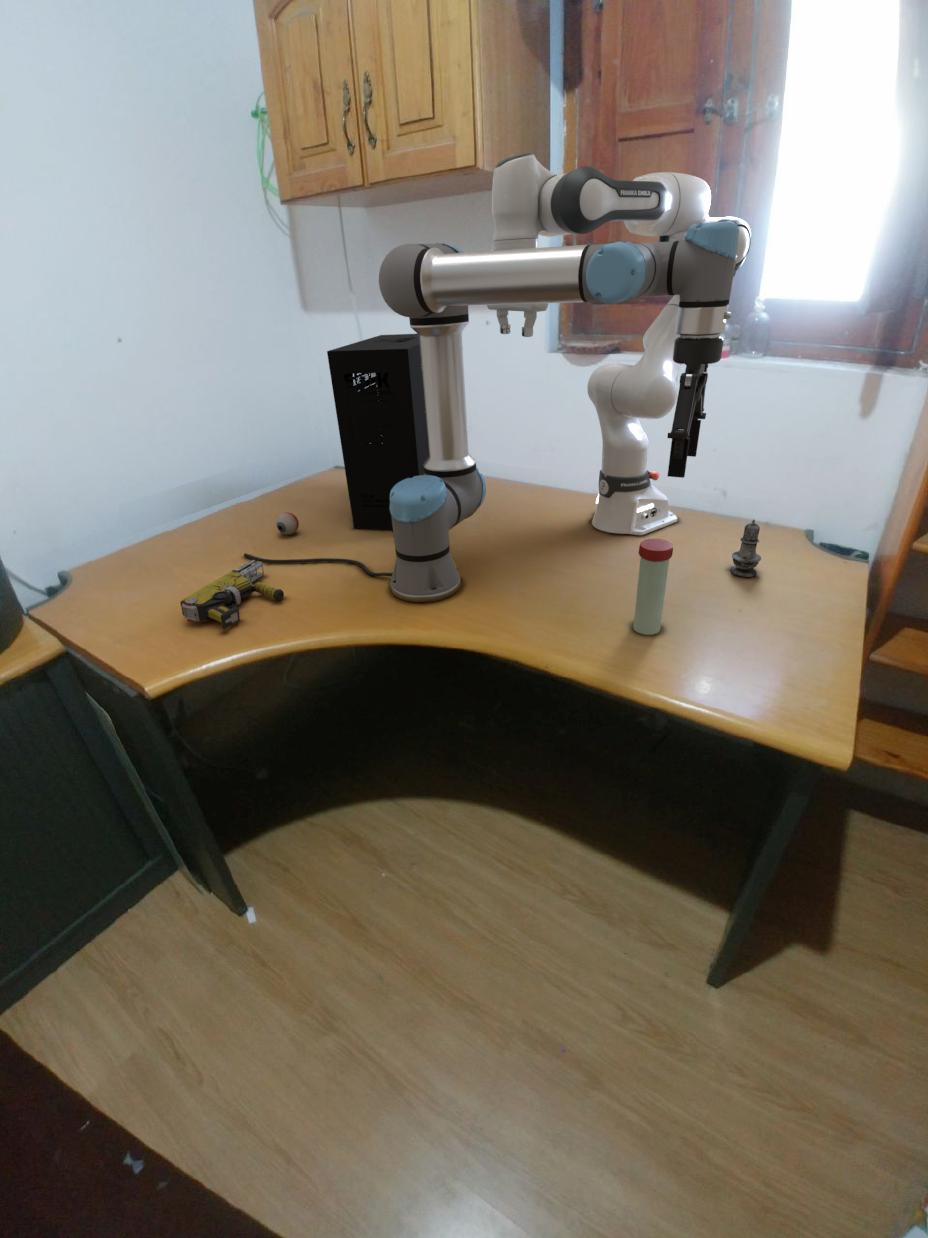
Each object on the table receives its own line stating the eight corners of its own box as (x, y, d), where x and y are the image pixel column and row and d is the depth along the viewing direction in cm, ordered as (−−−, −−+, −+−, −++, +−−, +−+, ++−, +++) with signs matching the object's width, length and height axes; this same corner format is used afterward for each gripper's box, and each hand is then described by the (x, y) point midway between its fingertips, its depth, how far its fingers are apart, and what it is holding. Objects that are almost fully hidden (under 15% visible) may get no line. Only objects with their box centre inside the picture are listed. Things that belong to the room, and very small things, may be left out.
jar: (665, 630, 113) (676, 548, 104) (645, 637, 111) (655, 554, 103) (647, 619, 117) (656, 539, 108) (627, 626, 115) (635, 545, 106)
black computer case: (424, 530, 162) (407, 348, 139) (353, 528, 166) (326, 351, 144) (457, 486, 193) (448, 332, 171) (397, 485, 198) (380, 334, 175)
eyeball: (273, 537, 164) (268, 516, 161) (287, 528, 169) (282, 508, 166) (291, 539, 161) (286, 518, 158) (305, 530, 166) (301, 510, 163)
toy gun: (305, 569, 137) (249, 557, 141) (237, 616, 117) (174, 600, 121) (306, 587, 139) (251, 575, 143) (240, 636, 119) (178, 621, 123)
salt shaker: (760, 577, 128) (772, 524, 122) (731, 576, 130) (741, 524, 124) (755, 566, 133) (766, 514, 127) (726, 565, 135) (736, 514, 129)
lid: (679, 556, 105) (680, 546, 104) (654, 564, 103) (655, 553, 102) (655, 546, 109) (657, 535, 108) (631, 553, 107) (632, 542, 106)
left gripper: (714, 344, 87) (694, 488, 97) (732, 327, 106) (713, 449, 116) (661, 345, 90) (646, 484, 100) (687, 328, 109) (672, 446, 119)
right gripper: (557, 254, 111) (556, 336, 118) (505, 258, 127) (506, 331, 134) (528, 255, 109) (527, 339, 116) (478, 260, 125) (481, 333, 132)
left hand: (682, 465), depth 108 cm, fingers open, 13 cm apart
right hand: (516, 335), depth 125 cm, fingers open, 8 cm apart
